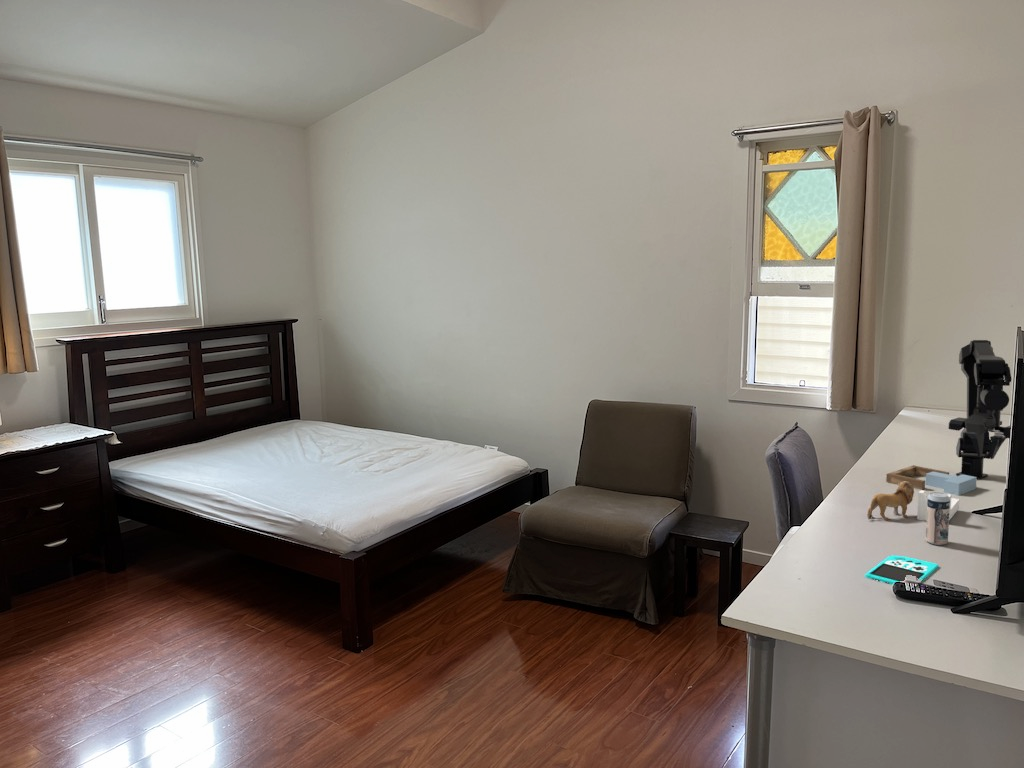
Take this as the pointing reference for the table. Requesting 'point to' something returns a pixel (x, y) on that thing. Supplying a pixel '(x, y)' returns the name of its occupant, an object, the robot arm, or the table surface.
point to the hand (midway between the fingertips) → (985, 457)
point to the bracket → (923, 506)
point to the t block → (951, 482)
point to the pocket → (905, 475)
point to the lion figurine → (893, 500)
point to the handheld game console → (900, 569)
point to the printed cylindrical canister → (937, 518)
